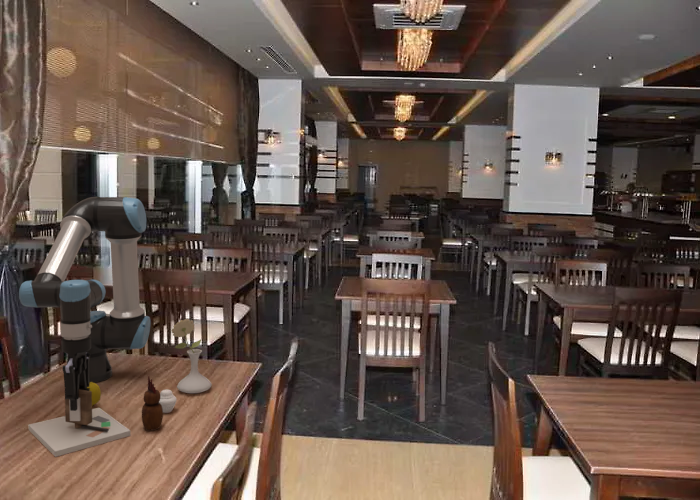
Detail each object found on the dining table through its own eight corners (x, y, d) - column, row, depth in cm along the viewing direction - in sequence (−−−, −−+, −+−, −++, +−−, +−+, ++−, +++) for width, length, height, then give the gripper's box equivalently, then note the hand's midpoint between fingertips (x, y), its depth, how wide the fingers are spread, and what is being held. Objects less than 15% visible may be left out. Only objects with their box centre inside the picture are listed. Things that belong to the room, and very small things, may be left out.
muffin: (175, 414, 187) (175, 392, 186) (154, 415, 186) (154, 393, 185) (177, 406, 193) (177, 385, 192) (157, 407, 192) (157, 386, 191)
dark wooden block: (71, 423, 175) (70, 388, 173) (110, 429, 171) (109, 393, 170) (65, 426, 172) (64, 390, 171) (104, 433, 169) (103, 396, 167)
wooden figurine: (140, 424, 179) (140, 375, 177) (161, 422, 181) (160, 373, 180) (142, 434, 173) (142, 382, 171) (164, 431, 175) (163, 380, 173)
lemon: (94, 410, 188) (93, 385, 187) (78, 408, 190) (77, 384, 189) (104, 404, 194) (104, 379, 193) (89, 402, 195) (88, 378, 194)
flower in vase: (209, 383, 215) (209, 314, 212) (213, 394, 205) (213, 321, 202) (171, 386, 211) (170, 315, 208) (172, 398, 201) (172, 323, 197)
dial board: (99, 412, 187) (99, 407, 187) (130, 435, 172) (130, 430, 171) (28, 429, 174) (28, 424, 173) (55, 456, 158) (55, 451, 158)
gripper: (77, 345, 161) (80, 429, 164) (101, 329, 178) (102, 406, 180) (48, 344, 161) (51, 429, 164) (74, 328, 177) (76, 406, 180)
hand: (78, 417), depth 172 cm, fingers closed on dark wooden block, 3 cm apart
